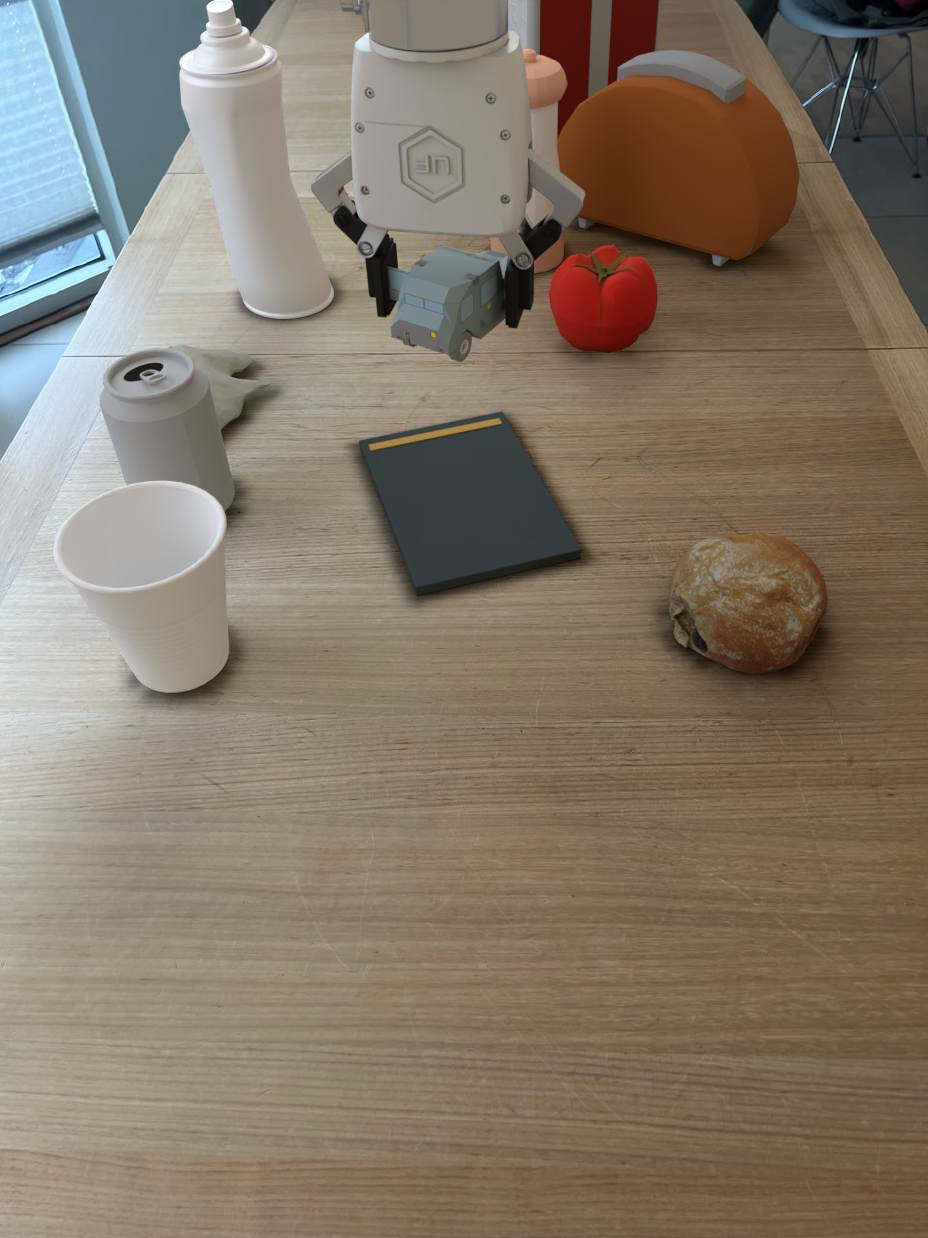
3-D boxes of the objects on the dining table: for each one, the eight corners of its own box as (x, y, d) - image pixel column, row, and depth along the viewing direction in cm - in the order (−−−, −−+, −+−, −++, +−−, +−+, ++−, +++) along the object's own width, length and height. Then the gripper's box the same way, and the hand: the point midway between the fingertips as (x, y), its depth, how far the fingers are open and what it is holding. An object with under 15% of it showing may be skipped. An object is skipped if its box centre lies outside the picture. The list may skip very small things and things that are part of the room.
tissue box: (452, 141, 129) (439, -128, 110) (568, 106, 135) (576, -154, 116) (532, 186, 119) (534, -101, 100) (654, 146, 125) (678, -131, 106)
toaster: (791, 242, 107) (824, 63, 95) (750, 279, 102) (780, 95, 90) (591, 190, 117) (599, 23, 106) (546, 221, 112) (548, 49, 101)
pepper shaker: (574, 246, 108) (581, 40, 95) (547, 279, 104) (551, 67, 90) (508, 235, 111) (506, 32, 97) (479, 266, 106) (472, 58, 92)
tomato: (668, 329, 96) (677, 250, 91) (621, 376, 91) (627, 295, 86) (578, 303, 100) (581, 226, 95) (528, 346, 95) (528, 267, 90)
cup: (75, 701, 67) (17, 574, 60) (152, 596, 74) (109, 468, 66) (217, 734, 65) (175, 606, 57) (283, 622, 72) (254, 493, 64)
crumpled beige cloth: (136, 353, 95) (96, 459, 84) (131, 319, 92) (90, 424, 82) (277, 366, 96) (255, 472, 85) (276, 332, 93) (253, 437, 83)
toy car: (532, 304, 71) (533, 233, 68) (449, 374, 66) (446, 300, 62) (452, 281, 74) (449, 212, 71) (365, 346, 68) (358, 275, 65)
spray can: (204, 317, 101) (136, 27, 83) (234, 264, 108) (177, -13, 91) (324, 320, 100) (281, 26, 82) (346, 265, 107) (310, -15, 90)
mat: (416, 596, 73) (415, 586, 72) (359, 448, 85) (358, 438, 85) (581, 558, 75) (581, 548, 74) (502, 418, 87) (502, 409, 87)
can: (205, 464, 84) (169, 328, 76) (256, 508, 80) (224, 369, 72) (120, 505, 81) (72, 368, 73) (168, 553, 77) (124, 414, 69)
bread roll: (649, 639, 74) (621, 586, 67) (745, 532, 75) (727, 469, 68) (763, 721, 69) (745, 672, 62) (866, 604, 69) (859, 544, 63)
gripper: (258, 27, 56) (305, 330, 68) (591, 38, 53) (576, 354, 65) (305, -14, 61) (341, 275, 73) (610, -6, 58) (593, 294, 70)
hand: (451, 310), depth 69 cm, fingers closed on toy car, 7 cm apart
